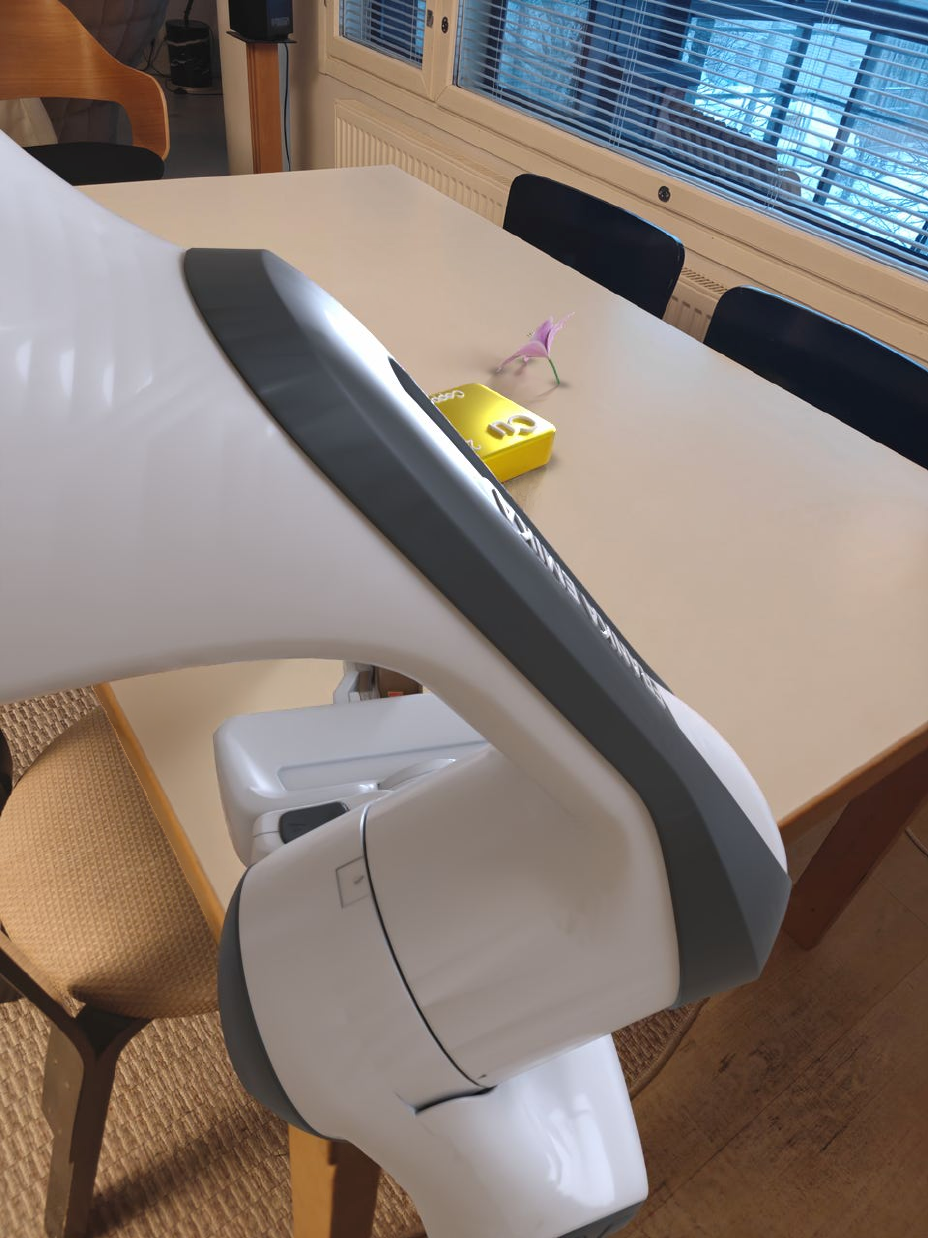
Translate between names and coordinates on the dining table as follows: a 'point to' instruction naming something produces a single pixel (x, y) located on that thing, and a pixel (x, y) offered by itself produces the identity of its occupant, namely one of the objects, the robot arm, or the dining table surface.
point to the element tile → (497, 429)
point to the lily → (539, 343)
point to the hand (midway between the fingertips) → (387, 656)
